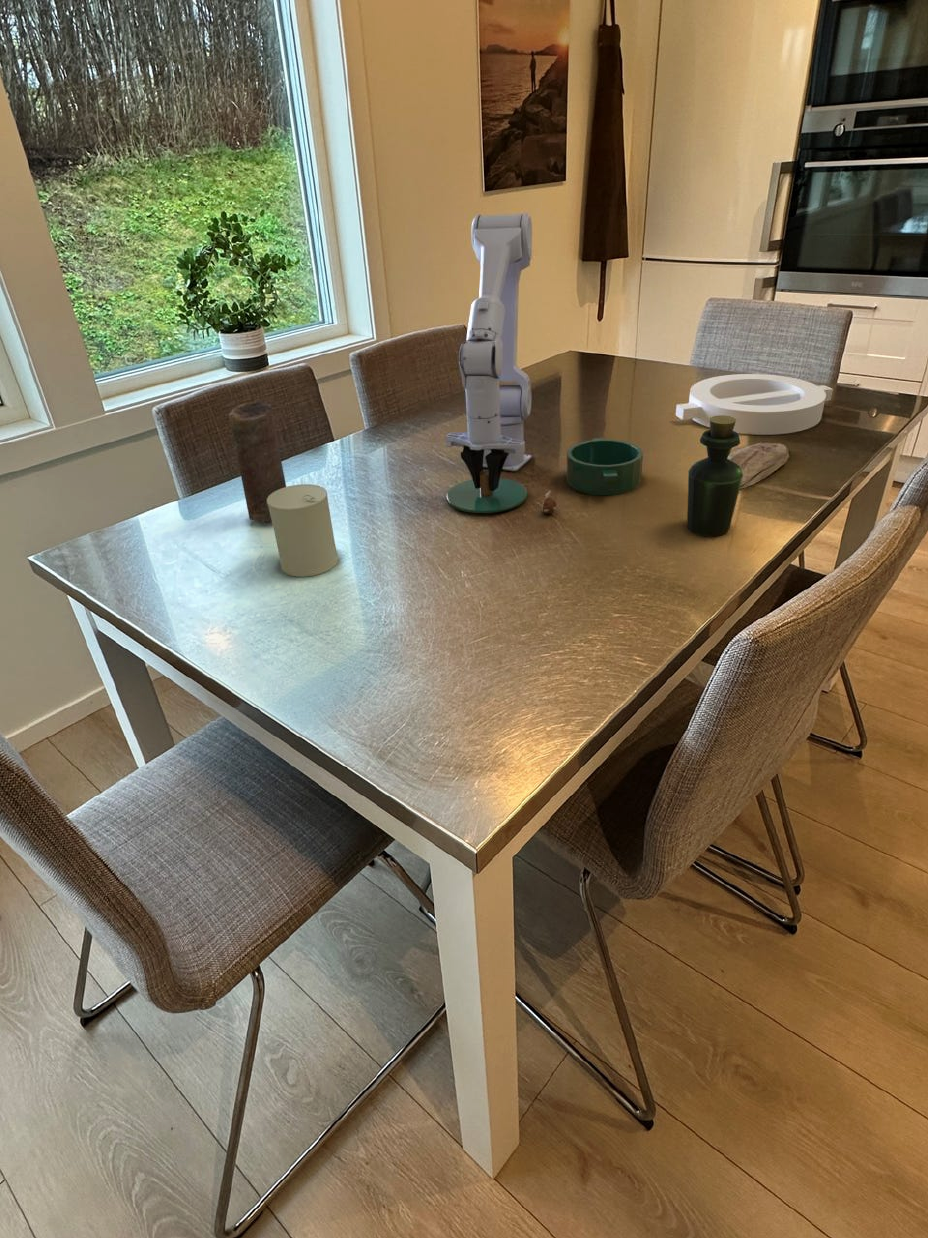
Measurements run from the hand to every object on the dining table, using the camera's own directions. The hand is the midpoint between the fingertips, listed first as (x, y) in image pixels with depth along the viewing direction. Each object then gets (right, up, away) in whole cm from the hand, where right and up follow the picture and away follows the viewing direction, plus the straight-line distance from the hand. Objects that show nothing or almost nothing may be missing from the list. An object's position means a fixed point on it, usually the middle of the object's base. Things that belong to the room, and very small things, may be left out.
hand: (486, 487), depth 134 cm
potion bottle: (+36, -9, -13) cm, 39 cm away
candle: (-39, -6, 0) cm, 39 cm away
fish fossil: (+49, +4, +6) cm, 49 cm away
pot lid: (0, -1, +1) cm, 2 cm away
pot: (+22, +2, +5) cm, 23 cm away
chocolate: (+11, -6, -5) cm, 13 cm away
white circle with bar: (+61, +22, +32) cm, 72 cm away
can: (-29, -15, -15) cm, 36 cm away
